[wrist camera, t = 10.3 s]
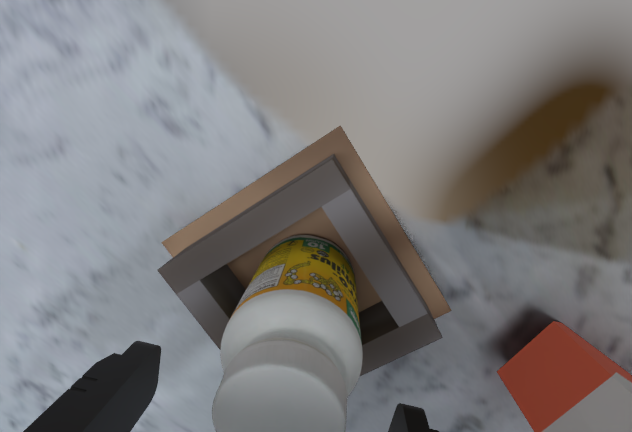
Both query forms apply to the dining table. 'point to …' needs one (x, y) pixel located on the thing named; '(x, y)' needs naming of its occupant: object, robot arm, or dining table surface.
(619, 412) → the french fries container
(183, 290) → the collar stand
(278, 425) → the supplement bottle
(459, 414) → the dining table surface
